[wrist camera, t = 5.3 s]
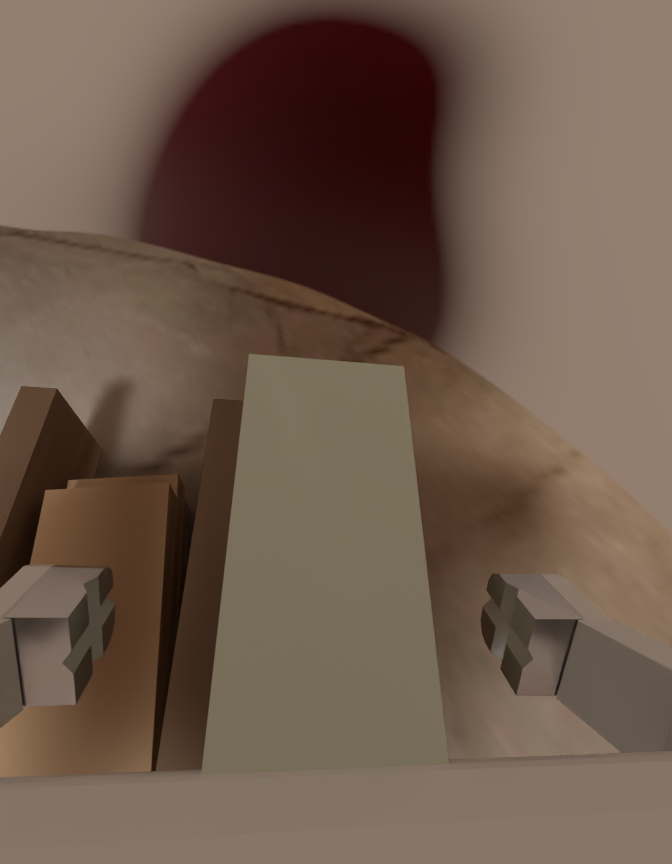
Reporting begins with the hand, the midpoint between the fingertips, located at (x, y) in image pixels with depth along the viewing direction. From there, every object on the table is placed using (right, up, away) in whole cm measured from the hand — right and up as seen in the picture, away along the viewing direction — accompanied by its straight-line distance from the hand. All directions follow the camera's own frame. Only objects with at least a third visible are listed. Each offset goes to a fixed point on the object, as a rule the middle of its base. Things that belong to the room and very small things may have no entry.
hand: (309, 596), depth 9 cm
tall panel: (-1, -5, +8) cm, 9 cm away
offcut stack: (-7, -4, +7) cm, 11 cm away
